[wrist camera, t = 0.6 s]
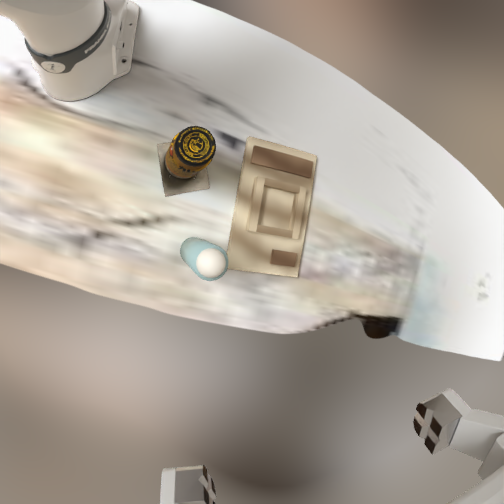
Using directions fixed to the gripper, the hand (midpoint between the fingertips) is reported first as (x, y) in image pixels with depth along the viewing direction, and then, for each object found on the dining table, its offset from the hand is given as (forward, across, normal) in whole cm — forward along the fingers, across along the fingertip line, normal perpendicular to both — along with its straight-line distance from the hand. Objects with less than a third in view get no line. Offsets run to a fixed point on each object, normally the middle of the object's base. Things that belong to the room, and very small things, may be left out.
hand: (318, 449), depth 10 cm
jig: (+46, -8, 0) cm, 47 cm away
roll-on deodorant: (+43, +7, +3) cm, 43 cm away
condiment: (+45, +6, -10) cm, 46 cm away
